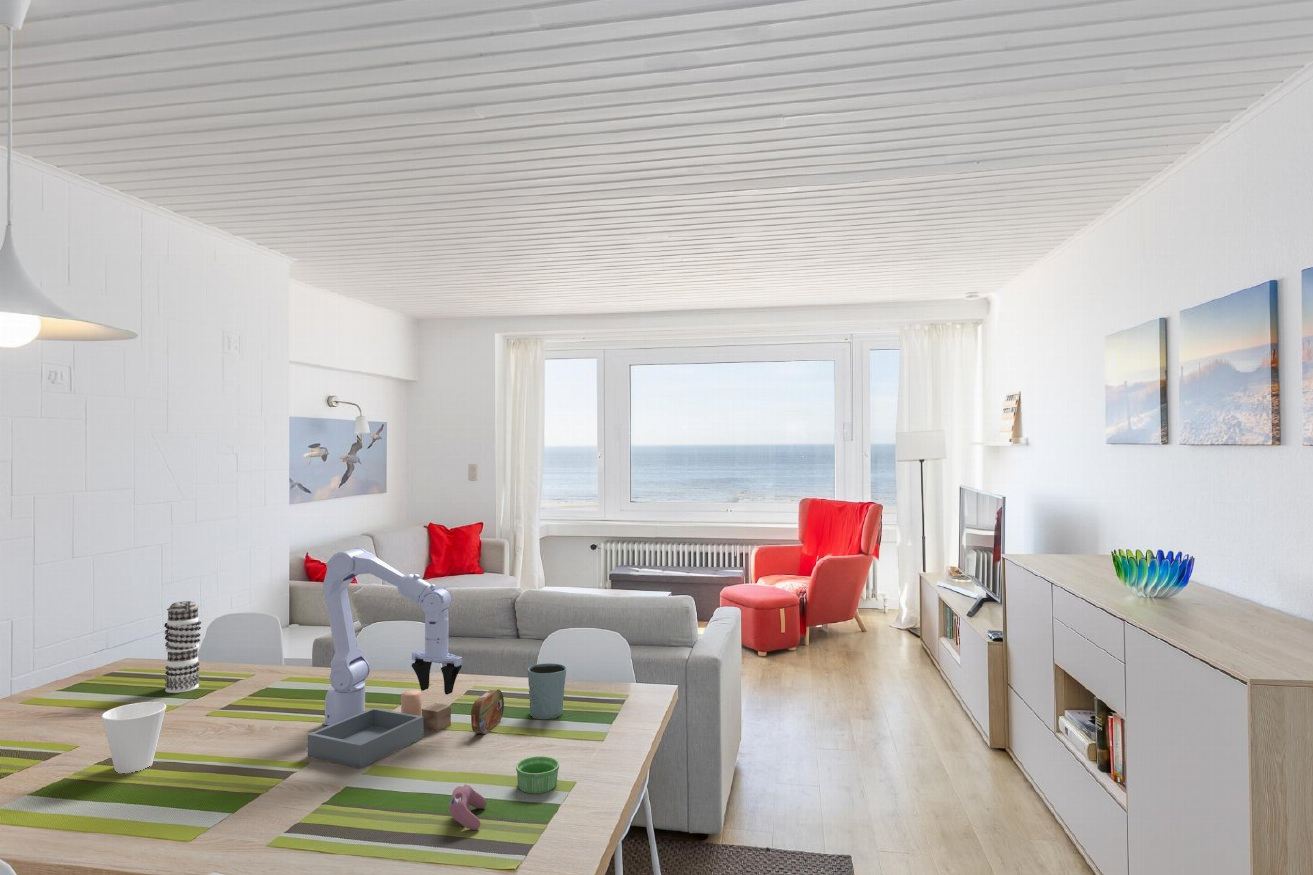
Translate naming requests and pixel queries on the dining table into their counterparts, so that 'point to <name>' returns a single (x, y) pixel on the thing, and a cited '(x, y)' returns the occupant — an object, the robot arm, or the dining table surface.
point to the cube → (436, 717)
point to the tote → (365, 737)
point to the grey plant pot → (546, 690)
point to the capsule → (411, 702)
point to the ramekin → (537, 774)
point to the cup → (133, 734)
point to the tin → (487, 711)
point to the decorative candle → (182, 647)
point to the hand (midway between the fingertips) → (436, 691)
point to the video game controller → (466, 806)
